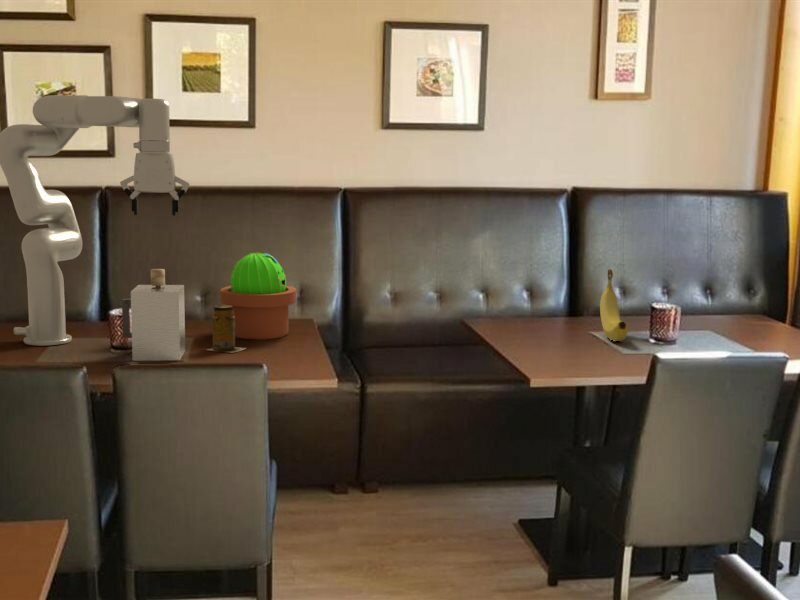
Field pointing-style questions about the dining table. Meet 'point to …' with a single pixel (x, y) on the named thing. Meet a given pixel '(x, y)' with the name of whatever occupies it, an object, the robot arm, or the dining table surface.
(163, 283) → the plunger
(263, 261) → the potted cactus
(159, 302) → the press housing
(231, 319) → the condiment
